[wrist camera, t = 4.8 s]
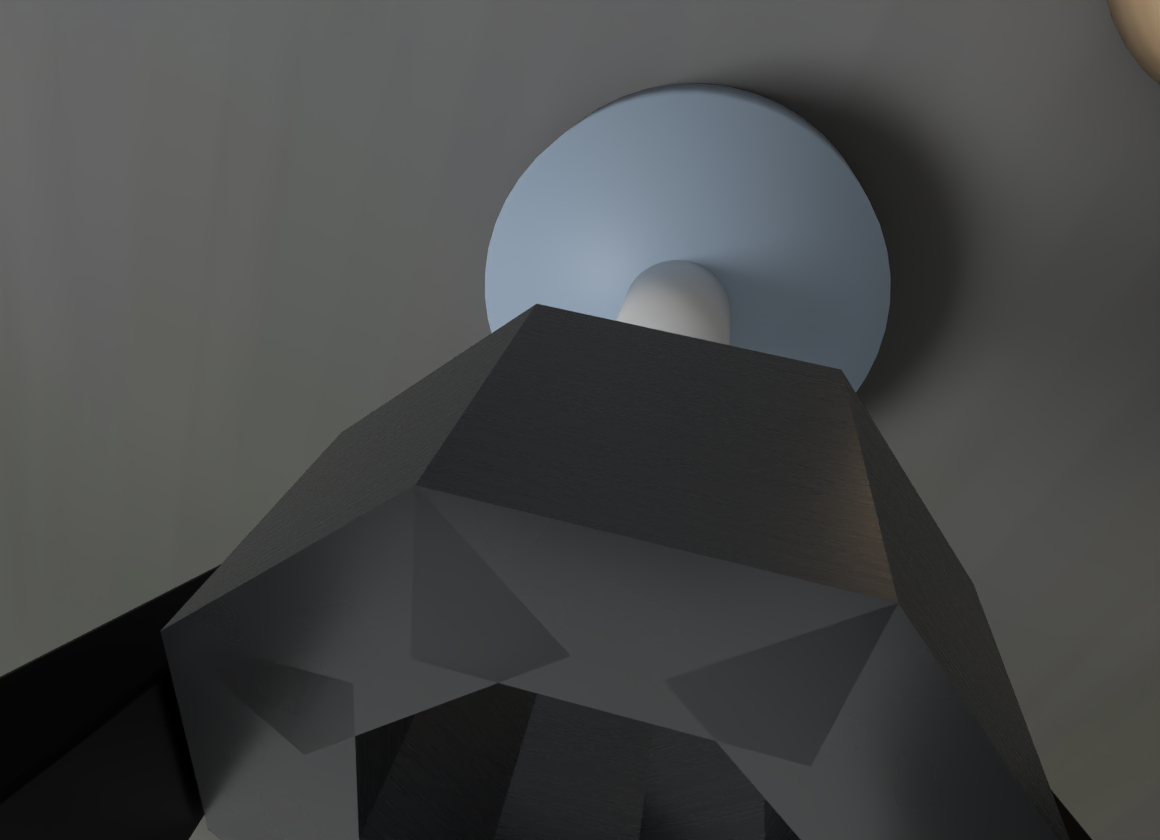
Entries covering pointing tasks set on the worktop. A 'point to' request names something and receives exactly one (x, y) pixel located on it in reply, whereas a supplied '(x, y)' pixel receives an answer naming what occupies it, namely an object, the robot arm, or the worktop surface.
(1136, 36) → the stand
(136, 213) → the worktop surface
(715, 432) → the ring
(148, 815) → the robot arm
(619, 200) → the hub
